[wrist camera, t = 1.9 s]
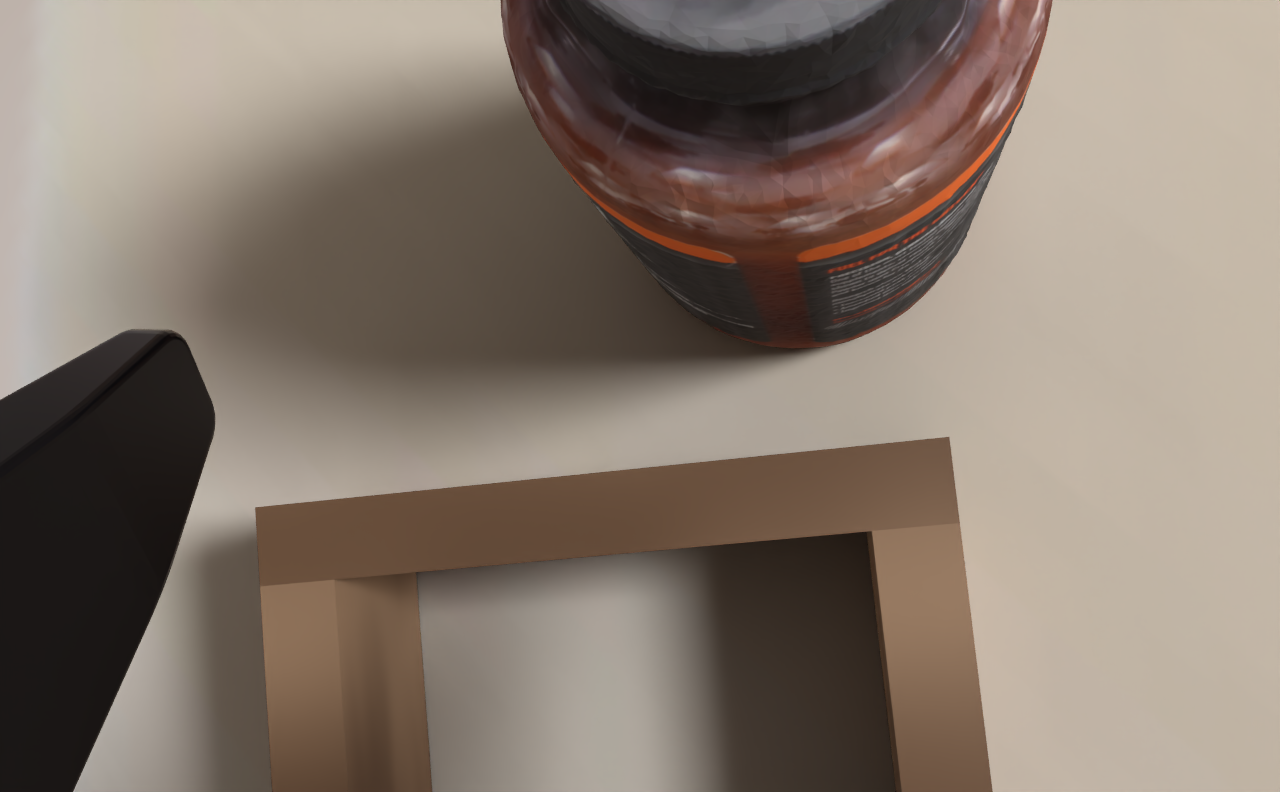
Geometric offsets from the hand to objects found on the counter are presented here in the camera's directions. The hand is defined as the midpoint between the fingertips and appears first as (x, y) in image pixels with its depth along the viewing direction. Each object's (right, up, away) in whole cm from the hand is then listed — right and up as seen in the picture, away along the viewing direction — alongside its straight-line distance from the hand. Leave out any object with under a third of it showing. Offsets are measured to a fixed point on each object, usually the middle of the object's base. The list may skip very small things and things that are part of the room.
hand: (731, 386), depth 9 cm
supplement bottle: (+2, +4, +12) cm, 13 cm away
